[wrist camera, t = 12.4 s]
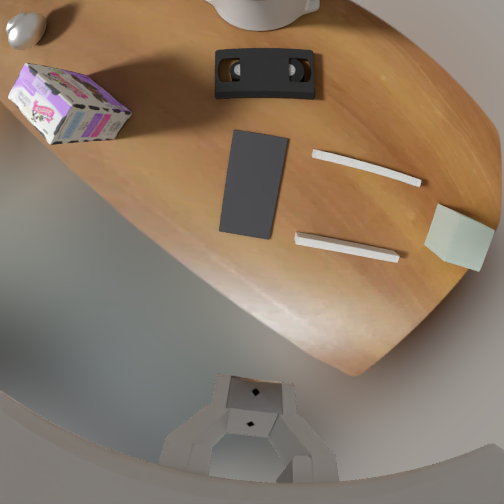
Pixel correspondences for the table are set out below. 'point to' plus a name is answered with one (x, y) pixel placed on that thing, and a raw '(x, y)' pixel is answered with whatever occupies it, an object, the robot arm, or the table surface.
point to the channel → (266, 190)
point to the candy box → (67, 105)
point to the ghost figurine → (25, 30)
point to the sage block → (458, 238)
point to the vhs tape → (265, 74)
